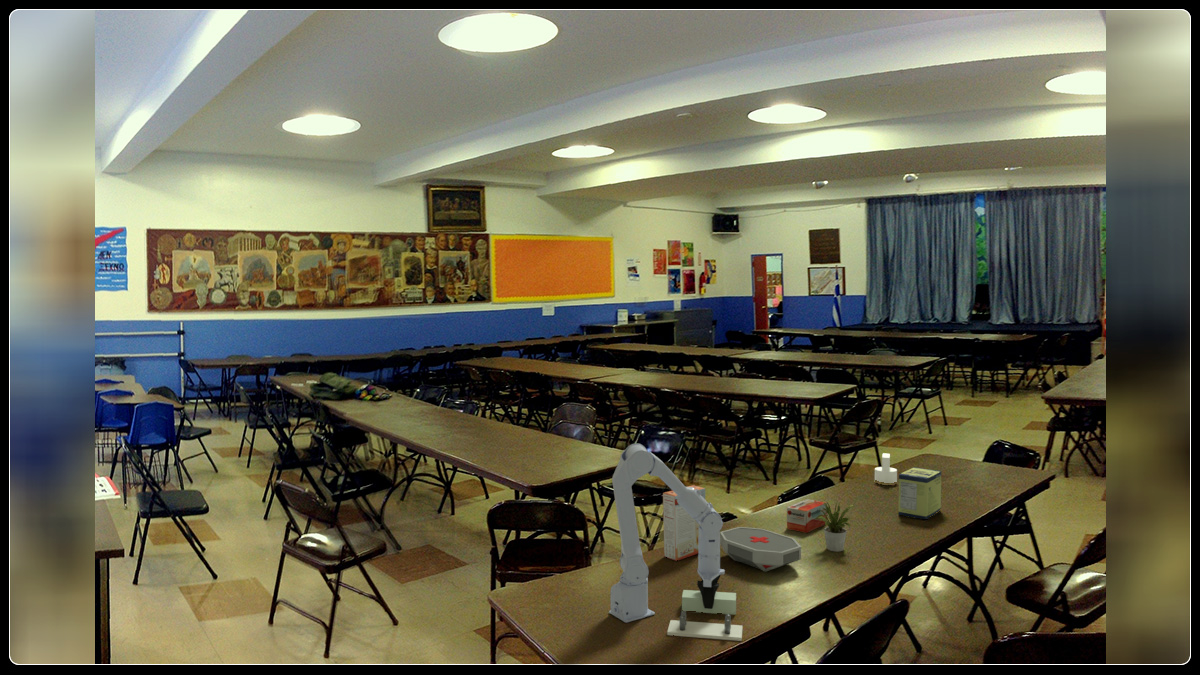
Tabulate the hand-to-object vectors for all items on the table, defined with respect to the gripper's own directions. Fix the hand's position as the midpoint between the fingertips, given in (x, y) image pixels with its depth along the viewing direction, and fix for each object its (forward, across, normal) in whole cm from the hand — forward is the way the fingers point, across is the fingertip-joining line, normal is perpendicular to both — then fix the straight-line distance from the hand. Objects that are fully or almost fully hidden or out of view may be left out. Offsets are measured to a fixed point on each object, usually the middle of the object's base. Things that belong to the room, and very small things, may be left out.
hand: (709, 603), depth 211 cm
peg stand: (+1, -14, 0) cm, 14 cm away
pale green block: (+2, 0, 0) cm, 2 cm away
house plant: (+2, +55, -35) cm, 66 cm away
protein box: (+2, +102, -71) cm, 124 cm away
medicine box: (+2, +79, -29) cm, 84 cm away
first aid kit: (+2, +38, -13) cm, 40 cm away
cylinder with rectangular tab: (+2, +147, -65) cm, 161 cm away
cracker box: (+2, +42, +11) cm, 43 cm away
